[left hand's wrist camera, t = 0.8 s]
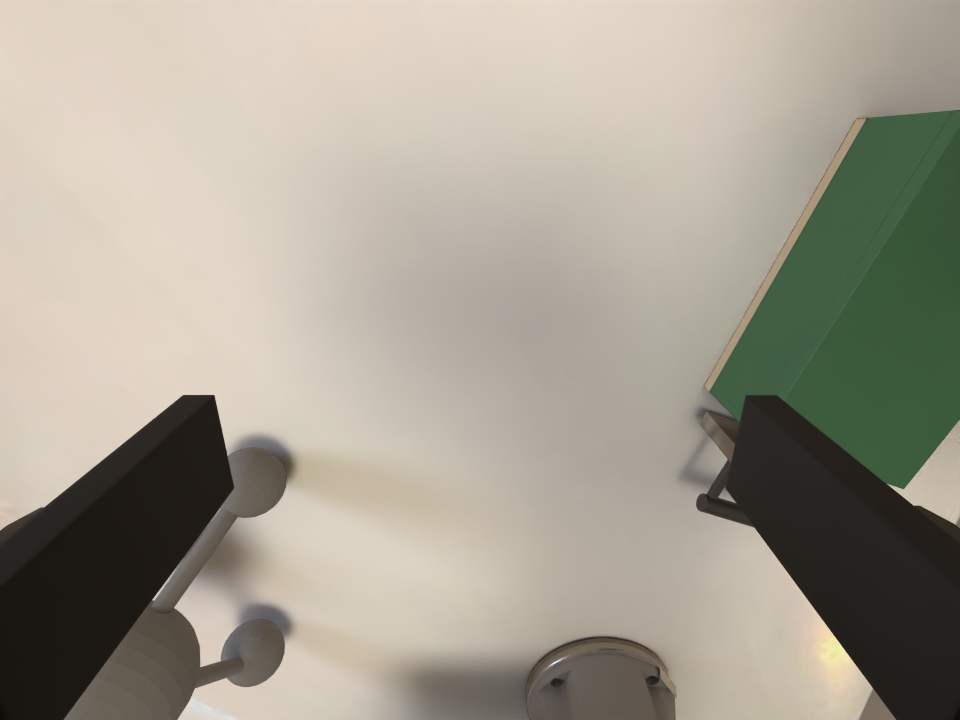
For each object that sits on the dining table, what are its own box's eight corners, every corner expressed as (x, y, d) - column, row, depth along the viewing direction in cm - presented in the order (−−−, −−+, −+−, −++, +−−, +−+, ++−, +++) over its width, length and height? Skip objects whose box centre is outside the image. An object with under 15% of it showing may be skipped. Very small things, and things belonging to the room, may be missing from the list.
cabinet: (826, 427, 42) (904, 489, 35) (703, 386, 41) (756, 441, 33) (998, 178, 35) (1147, 186, 27) (856, 118, 34) (971, 108, 26)
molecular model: (399, 513, 46) (273, 1075, 18) (277, 650, 52) (45, 1218, 24) (154, 364, 40) (-580, 840, 12) (52, 538, 47) (-578, 1105, 19)
